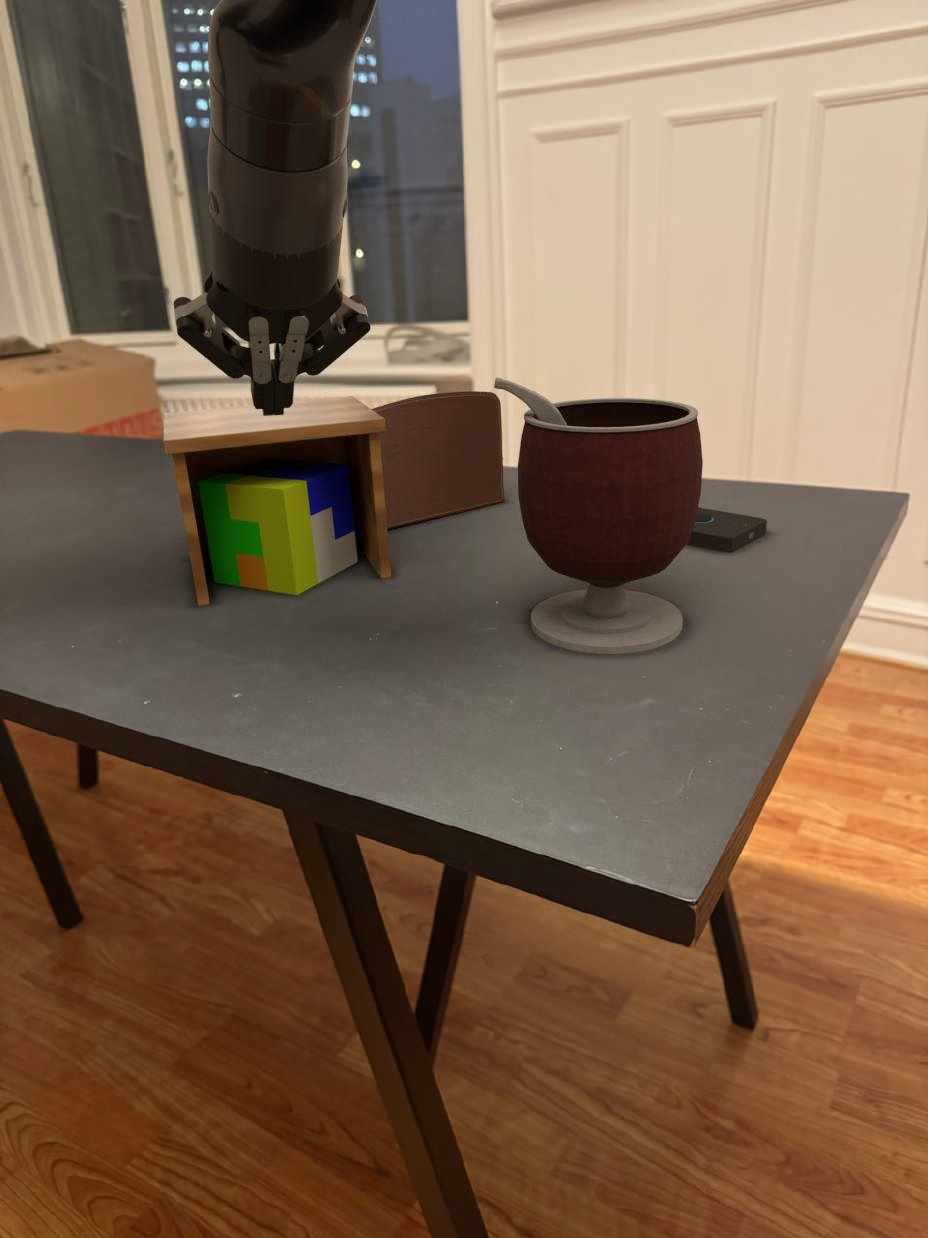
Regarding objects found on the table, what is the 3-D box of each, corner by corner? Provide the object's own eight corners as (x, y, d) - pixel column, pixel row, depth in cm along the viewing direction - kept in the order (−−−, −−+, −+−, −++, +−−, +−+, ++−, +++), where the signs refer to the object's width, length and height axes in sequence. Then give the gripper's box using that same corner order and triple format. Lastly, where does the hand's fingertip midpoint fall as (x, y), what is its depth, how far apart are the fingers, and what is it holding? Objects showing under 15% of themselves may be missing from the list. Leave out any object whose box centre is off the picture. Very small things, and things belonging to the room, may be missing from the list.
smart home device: (731, 537, 86) (566, 506, 99) (730, 554, 87) (566, 521, 100) (770, 517, 92) (608, 490, 105) (768, 533, 92) (608, 504, 105)
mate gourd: (672, 589, 79) (683, 356, 71) (712, 655, 66) (731, 380, 59) (498, 596, 79) (491, 365, 72) (505, 663, 67) (497, 391, 59)
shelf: (397, 578, 85) (384, 418, 79) (193, 608, 80) (163, 440, 74) (365, 535, 98) (352, 395, 92) (188, 559, 93) (162, 413, 87)
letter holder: (505, 502, 108) (502, 384, 103) (365, 537, 98) (353, 407, 92) (457, 488, 116) (452, 377, 110) (322, 519, 105) (309, 398, 100)
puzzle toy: (357, 562, 90) (348, 464, 86) (296, 595, 82) (283, 489, 78) (279, 551, 94) (267, 458, 91) (214, 582, 86) (197, 481, 82)
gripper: (379, 162, 54) (350, 364, 69) (149, 154, 50) (172, 370, 65) (404, 250, 51) (369, 442, 66) (161, 248, 47) (182, 452, 62)
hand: (271, 406), depth 65 cm, fingers closed
